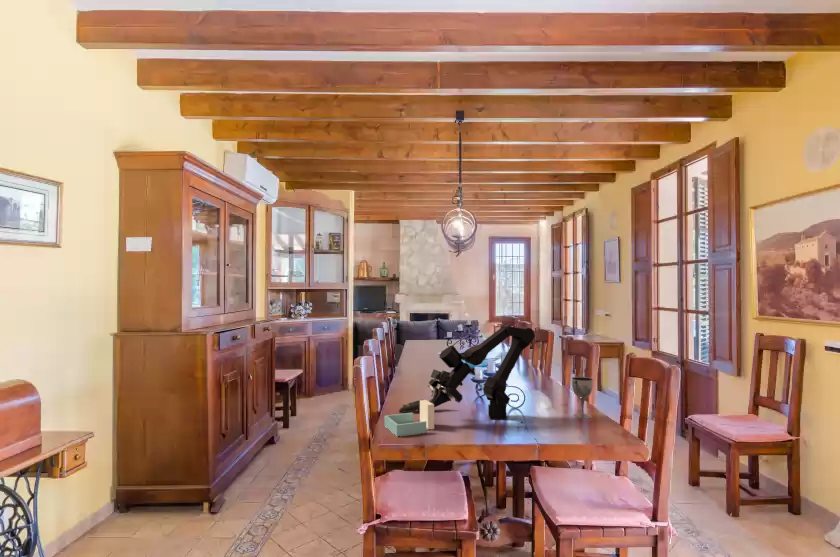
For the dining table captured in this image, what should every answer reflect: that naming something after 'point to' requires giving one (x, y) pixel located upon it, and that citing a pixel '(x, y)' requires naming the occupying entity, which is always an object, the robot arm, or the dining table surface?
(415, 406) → the statue
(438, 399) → the robot arm
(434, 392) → the game die
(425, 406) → the bookend
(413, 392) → the dining table surface
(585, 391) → the wine glass
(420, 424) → the box
